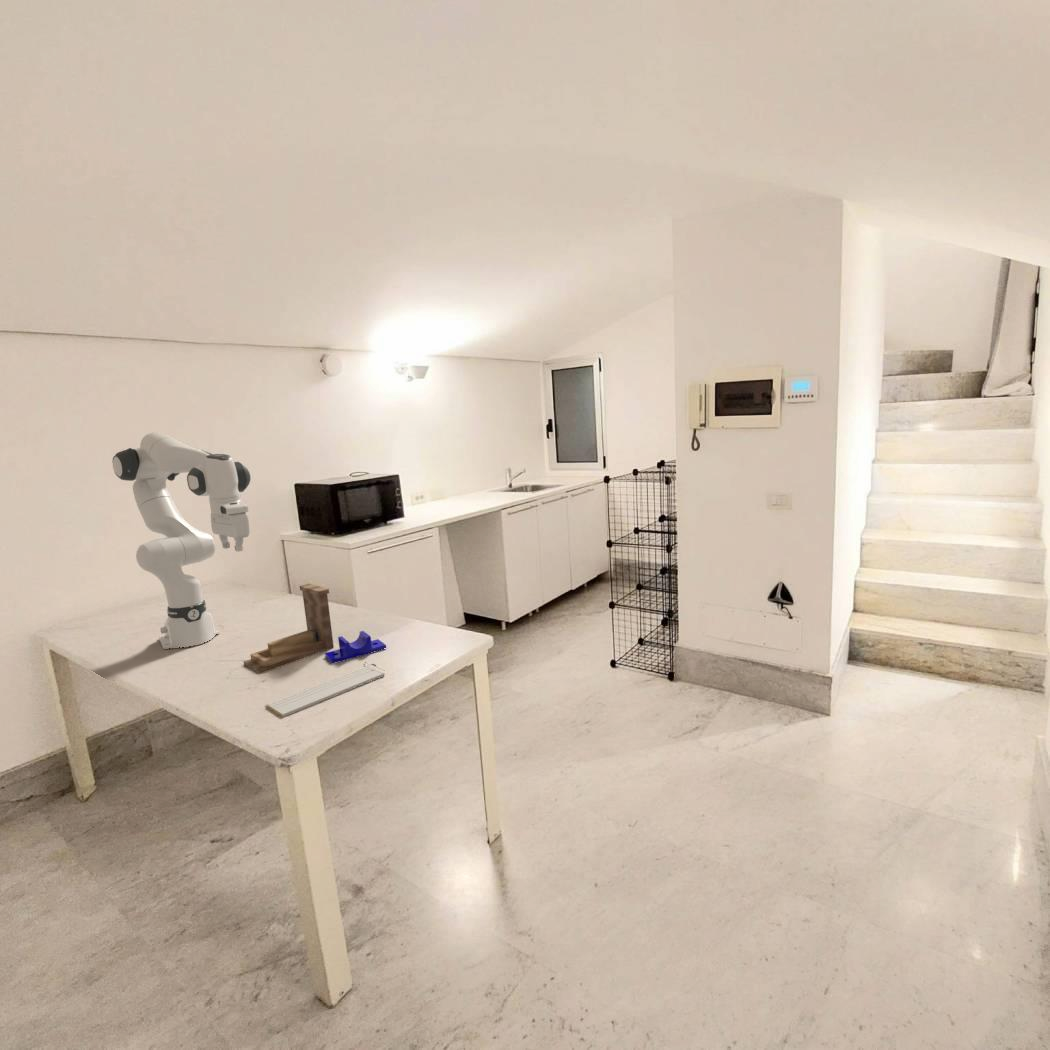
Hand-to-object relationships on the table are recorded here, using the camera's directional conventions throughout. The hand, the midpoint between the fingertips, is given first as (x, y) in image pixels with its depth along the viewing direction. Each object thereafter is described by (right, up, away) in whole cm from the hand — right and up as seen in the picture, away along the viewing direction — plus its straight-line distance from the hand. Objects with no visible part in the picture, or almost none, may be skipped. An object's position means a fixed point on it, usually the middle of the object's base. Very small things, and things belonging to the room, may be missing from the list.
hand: (232, 549), depth 189 cm
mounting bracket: (+37, -35, +7) cm, 51 cm away
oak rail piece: (+15, -34, +9) cm, 39 cm away
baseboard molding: (+36, -40, -19) cm, 57 cm away
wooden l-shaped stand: (+15, -35, +8) cm, 39 cm away
